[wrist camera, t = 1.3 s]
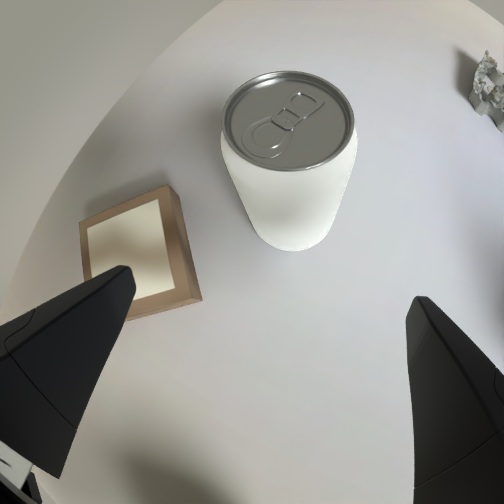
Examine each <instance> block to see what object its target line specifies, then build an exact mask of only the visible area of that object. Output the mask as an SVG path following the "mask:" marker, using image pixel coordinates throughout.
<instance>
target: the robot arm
mask: <svg viewBox="0 0 504 504" xmlns="http://www.w3.org/2000/svg"><path fill="white" fill-rule="evenodd" d="M135 293H136V283H135V279H134V276H133V272H132V269H131V268H130V267H129V266H126V265H117V266H115V267H113V268H111V269H109V270H107V271H105V272H103V273H101V274H99V275H97V276H95V277H93V278H91V279H89V280H87V281H85V282H83V283H81V284H79V285H78V286H76V287H74V288H72V289H70V290H68V291H66V292H64V293H62V294H60V295H58V296H56V297H55V298H53V299H51V300H49V301H47V302H45V303H43V304H41V305H40V306H38V307H36V308H34V309H32V310H30V311H29V312H27V313H25V314H23V315H21V316H19V317H17V318H15V319H13V320H11V321H9V322H7V323H5V324H3V325H1V326H0V504H42V499H41V496H40V493H39V489H38V486H37V483H36V479H35V475H34V473H32V472H31V469H32V467H33V465H36V466H37V467H39V468H40V469H42V470H44V471H45V472H47V473H49V474H50V475H52V476H54V477H55V478H57V479H59V478H60V476H61V473H62V470H63V467H64V464H65V461H66V459H67V456H68V453H69V450H70V448H71V445H72V442H73V439H74V437H75V434H76V432H77V430H76V429H78V426H79V424H80V421H81V419H82V416H83V414H84V411H85V409H86V406H87V404H88V402H89V399H90V397H91V395H92V392H93V390H94V388H95V385H96V383H97V381H98V379H99V376H100V374H101V372H102V370H103V367H104V365H105V363H106V361H107V359H108V357H109V355H110V352H111V350H112V348H113V346H114V344H115V342H116V340H117V338H118V336H119V334H120V331H121V329H122V327H123V324H124V322H125V319H126V317H127V314H128V311H129V309H130V306H131V303H132V301H133V298H134V296H135ZM406 338H407V363H408V374H409V382H410V392H411V402H412V414H413V430H414V499H413V504H504V375H503V374H502V373H501V372H500V370H499V369H498V368H496V366H495V365H494V364H493V363H492V362H491V360H490V359H489V358H488V357H487V356H486V355H485V354H484V353H483V352H482V351H481V350H480V349H479V347H478V346H477V345H476V344H475V343H474V342H473V341H472V340H471V339H470V338H469V337H468V336H467V335H466V334H465V333H464V332H463V331H462V330H461V329H460V328H459V327H458V326H457V325H456V324H455V323H454V322H453V321H452V320H451V319H450V318H449V317H448V316H447V315H446V314H445V313H444V312H443V311H442V310H441V309H440V308H439V307H438V306H437V305H436V304H435V303H434V302H433V301H432V300H431V299H430V298H428V297H426V296H416V297H415V298H414V299H413V302H412V304H411V307H410V309H409V311H408V314H407V316H406Z"/></svg>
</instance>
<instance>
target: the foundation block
mask: <svg viewBox="0 0 504 504" xmlns="http://www.w3.org/2000/svg"><path fill="white" fill-rule="evenodd" d="M79 228H80V243H81V255H82V265H83V274H84V282H85V281H87V280H89V279H91V278H93V277H95V276H97V275H99V274H101V273H103V272H105V271H107V270H109V269H111V268H113V267H115V266H117V265H126V266H129V267H130V268H131V269H132V272H133V276H134V279H135V283H136V293H135V296H134V298H133V301H132V303H131V306H130V309H129V311H128V314H127V317H126V319H125V321H129V320H133V319H137V318H141V317H144V316H148V315H152V314H156V313H159V312H163V311H167V310H170V309H174V308H178V307H181V306H185V305H189V304H192V303H196V302H199V301H203V300H202V296H201V292H200V288H199V284H198V280H197V276H196V272H195V268H194V263H193V259H192V255H191V250H190V246H189V241H188V237H187V232H186V228H185V223H184V218H183V213H182V208H181V204H180V199H179V196H178V195H177V194H176V193H175V192H174V191H173V189H172V188H171V187H170V186H169V185H165V186H163V187H160V188H158V189H155V190H153V191H150V192H148V193H145V194H143V195H140V196H138V197H135V198H133V199H131V200H128V201H126V202H123V203H121V204H119V205H117V206H114V207H112V208H110V209H107V210H105V211H103V212H101V213H99V214H96V215H94V216H92V217H90V218H88V219H86V220H83V221H81V222H79Z"/></svg>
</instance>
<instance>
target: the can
mask: <svg viewBox="0 0 504 504" xmlns="http://www.w3.org/2000/svg"><path fill="white" fill-rule="evenodd" d="M221 125H222V132H221V151H222V155H223V158H224V161H225V164H226V167H227V169H228V171H229V174H230V176H231V178H232V180H233V183H234V185H235V187H236V190H237V192H238V194H239V196H240V199H241V201H242V203H243V205H244V207H245V210H246V212H247V214H248V216H249V218H250V221H251V223H252V225H253V227H254V229H255V231H256V233H257V234H258V235H259V236H260V237H261V238H262V239H263V240H264V241H265V242H267V243H268V244H270V245H271V246H273V247H276V248H278V249H281V250H285V251H300V250H304V249H307V248H310V247H312V246H314V245H316V244H317V243H319V242H320V241H321V240H322V239H323V238H324V237H325V236H326V234H327V233H328V232H329V230H330V228H331V226H332V224H333V221H334V219H335V216H336V213H337V211H338V208H339V205H340V203H341V200H342V197H343V194H344V191H345V189H346V186H347V183H348V180H349V177H350V174H351V171H352V168H353V165H354V161H355V157H356V153H357V133H356V129H355V126H354V114H353V110H352V108H351V105H350V103H349V101H348V100H347V98H346V97H345V96H344V94H343V93H342V92H341V91H340V90H339V89H338V88H337V87H335V86H334V85H333V84H331V83H330V82H328V81H326V80H324V79H323V78H320V77H318V76H315V75H312V74H309V73H304V72H298V71H277V72H271V73H267V74H263V75H260V76H257V77H255V78H253V79H251V80H249V81H247V82H246V83H244V84H243V85H241V86H240V87H239V88H238V89H237V90H235V92H234V93H233V94H232V95H231V96H230V98H229V99H228V101H227V102H226V104H225V106H224V109H223V112H222V118H221Z"/></svg>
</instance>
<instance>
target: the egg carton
mask: <svg viewBox="0 0 504 504" xmlns="http://www.w3.org/2000/svg"><path fill="white" fill-rule="evenodd" d="M488 54H489V53H488V51H486V52H485V55H484V57H483V59H482V61H481V62H480V63H479V64H478V66H477V68H476V71H475V78H474V80H473V87H474V88H473V90H472V92H471V94H470V95H469V98H468V99H469V101H470V102H471V103H472V104H473V106H474V109H475V112H477V113H478V114H479V115H481V116H482V115H483V114H487V115H489V116H491V117H492V118H493V120H494V121H495V123H496V125H497V128H498V129H499V130H500V131H501V132H502V133H504V110H503V107H504V92H503V91H502V90H501V89H500V87H502V86H503V87H504V73H501V72H500V71H499V70H497V69H496V67H497V62H496V61H495V60H494V59H493V58H491V57H490V56H489V55H488ZM486 74H487V75H488V76H489V78H490V80H491V81H492V82H493V83H494V84H495V85H496V86H495V87H492V86H488V87H487V90H488V92H489V93H490V94H489V95H488V97H487V98H486V100H485V102H484V101H483V100H482V94H481V93H480V92H481V91H482V89H483V88H484V86H485V85H486V82H482V80H483V78H484V77H485V75H486Z"/></svg>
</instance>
